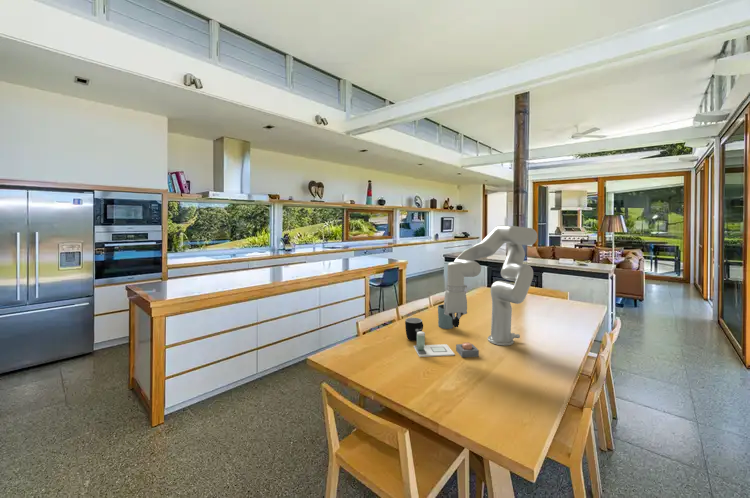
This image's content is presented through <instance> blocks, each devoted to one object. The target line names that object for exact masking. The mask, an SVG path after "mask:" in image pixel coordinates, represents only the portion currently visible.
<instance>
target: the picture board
mask: <svg viewBox="0 0 750 498" xmlns="http://www.w3.org/2000/svg"><path fill="white" fill-rule="evenodd" d="M413 348H414V350H415V352H416V354H417V356H418V357H419V358H422V357H423V358H424V357H425V358H426V357H446V356H447V357H449V356H450V357H451V356H455V355H456V354H455V352H454V351H453V350H452V349H451V348H450V346H449V345H448V344H446V343H445V344H444V343H443V344H441V343H440V344H425V348H424V350H422V351H419V350H418V348H417V344H416V345H413Z"/></svg>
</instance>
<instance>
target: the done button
mask: <svg viewBox="0 0 750 498" xmlns="http://www.w3.org/2000/svg"><path fill="white" fill-rule="evenodd" d="M462 344H463V347H462V348H463V349H464V350H469V349H472V344H473V343H471V342H463V343H462Z"/></svg>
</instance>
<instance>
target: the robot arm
mask: <svg viewBox="0 0 750 498" xmlns="http://www.w3.org/2000/svg"><path fill="white" fill-rule="evenodd" d="M537 240H538V233H537V230H536V229H534V228H531V227H523V226H516V225H515V226H514V225H497V226H495V227H494V228H493V229H492V230H491V231H490V232H489V233H488V234H487V235H486V236H485V237H484V238H483V239H482V240H481V241H480V242H479V243H476V244H475V245H472V246H471V247H469V248H466V249H464V250H463V251H462V252H461V253H460V254H459V255H458V256H457V257H456V258H455V259H454V261H450V262H448V263H447V290H445V292H444V298H443V299H444V301H443V304H444V310H445V312H444V314H445V315H448V316H451V317H452V325H453V328H459V325H460V319H461V318H462V316H464V315H467V314H468V312H467V311H468V299H467V298H468V297H467V293H466V291H465V290H466V289H467V288H468V285H465V278H474V277H478V275H480V274H481V271H482V267H481V266H482V265H480V263H478V262H477V261H476V260H479V259H485V258H490V257H492V256H493V255H495V254H496V252H498V250H499V249H500V248H501V247H502V246H503V245H504V244H506V246H507V254H506V257H505V259H504V262H503V264H502V267H501V270H500V276H501V278H503V279H504V280H508V281H504V280H497V281H496V280H495V281H494V282H493V283H491V286H490V296H491V326H490V327H491V328H490V335H489V336H488V337H487V341H488V342H489V343H491V344H493V345H495V346H496V345H498V346H505V347H506V346H512V345H513V344H514V339H521V338H520V337H521V335H520V333H516V334H515V333H514V332H512V315H513V313H512V310H513V308H512V304H516V305H519V304H521V303H523V302H524V301H525V299H526V297H527V295H528V292H529V289H530V287H531V285H532V282H533V279H534V270H533V267H531V265H530V264H527V263H524V261H525V258H526V257H525V256H526V252H525V248H524V247H523V246H532V245H534V244H535V243H536V242H537ZM509 281H511V282H509ZM512 282H514V283H512Z"/></svg>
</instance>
